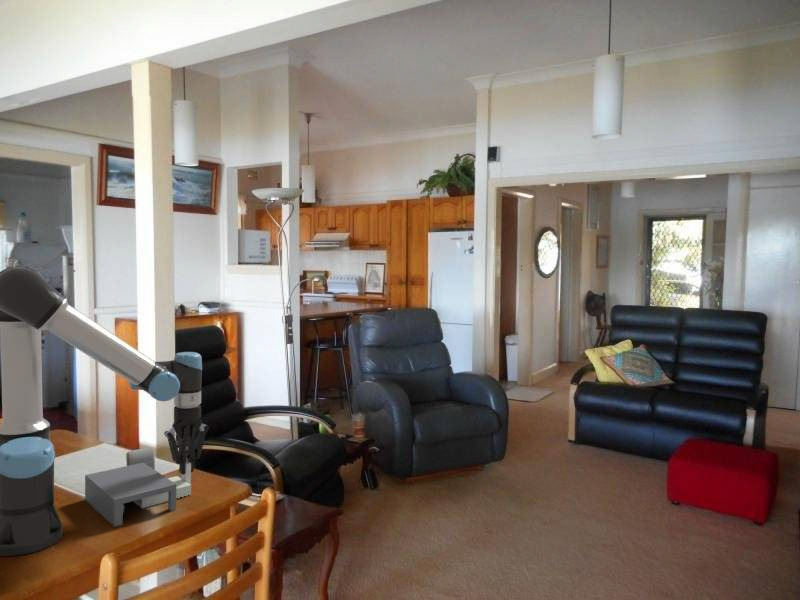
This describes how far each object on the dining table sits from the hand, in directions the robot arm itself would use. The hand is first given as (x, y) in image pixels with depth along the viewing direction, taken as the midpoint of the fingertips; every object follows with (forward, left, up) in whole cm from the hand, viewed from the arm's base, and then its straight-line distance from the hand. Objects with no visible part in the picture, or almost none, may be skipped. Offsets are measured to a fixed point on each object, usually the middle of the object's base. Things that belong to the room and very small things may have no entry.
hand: (186, 483), depth 171 cm
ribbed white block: (-8, 0, -2) cm, 8 cm away
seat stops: (-20, 0, -2) cm, 20 cm away
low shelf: (-16, 0, -2) cm, 16 cm away
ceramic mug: (-5, +21, -2) cm, 21 cm away
